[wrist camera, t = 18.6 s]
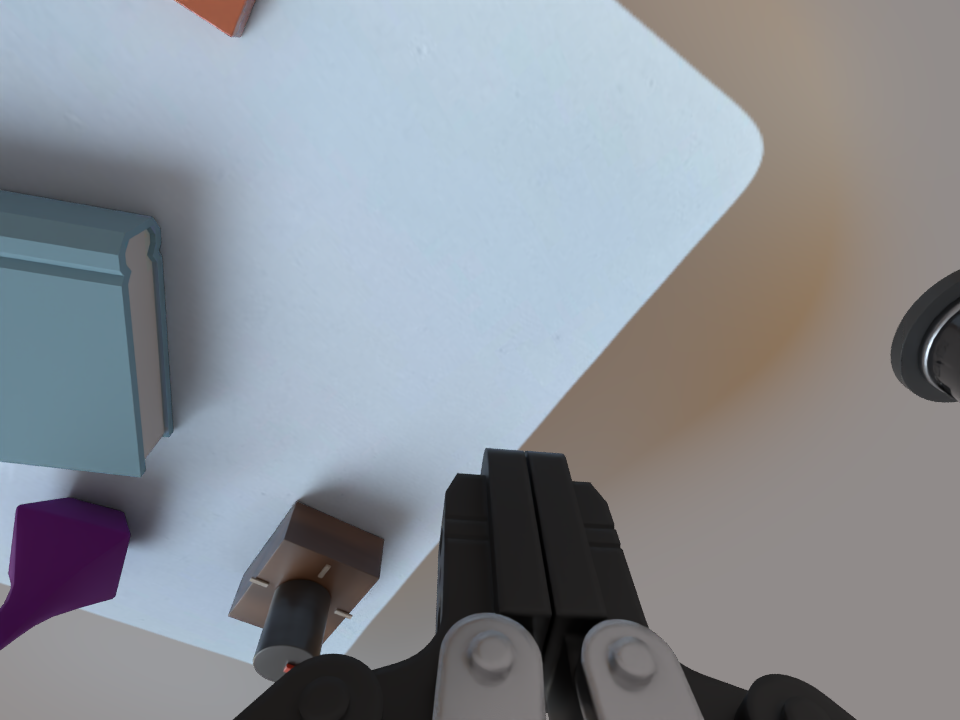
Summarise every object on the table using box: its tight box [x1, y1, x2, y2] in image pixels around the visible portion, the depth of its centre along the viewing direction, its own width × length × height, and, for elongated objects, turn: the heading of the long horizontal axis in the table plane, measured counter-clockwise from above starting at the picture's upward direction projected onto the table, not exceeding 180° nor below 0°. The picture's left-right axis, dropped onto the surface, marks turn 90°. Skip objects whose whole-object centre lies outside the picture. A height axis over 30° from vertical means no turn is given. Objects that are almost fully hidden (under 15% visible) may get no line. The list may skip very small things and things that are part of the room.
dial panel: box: [228, 501, 384, 644], centre depth 46 cm, size 10×9×4 cm
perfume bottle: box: [0, 497, 131, 650], centre depth 37 cm, size 8×8×18 cm
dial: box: [253, 580, 331, 682], centre depth 42 cm, size 4×4×6 cm
